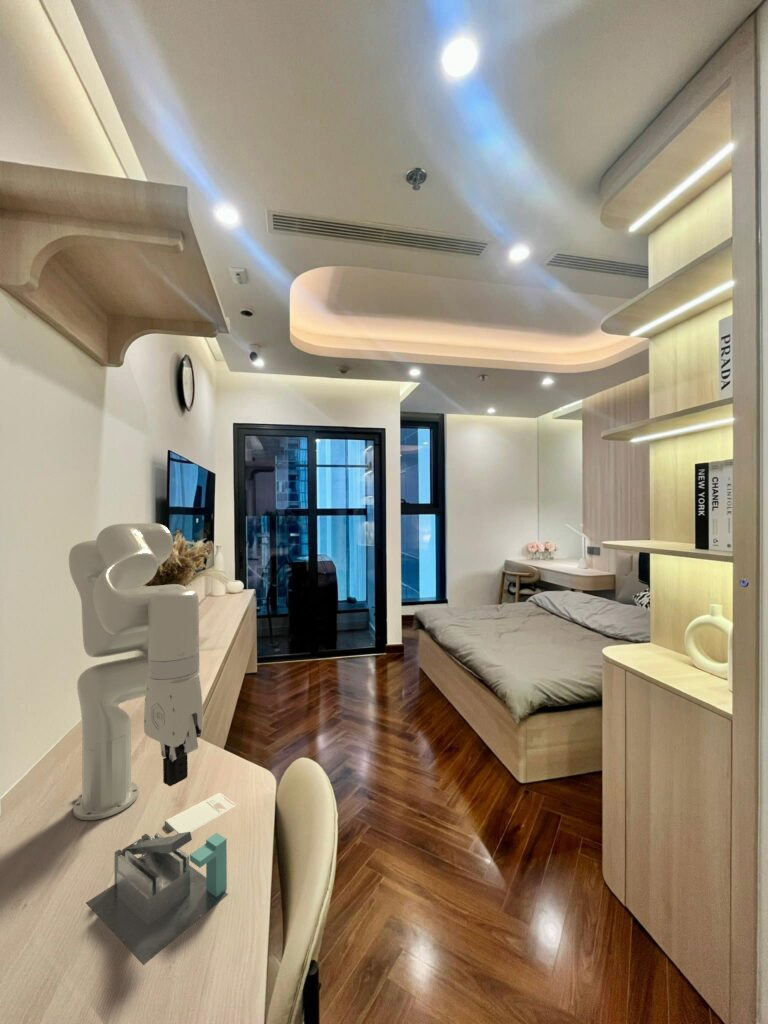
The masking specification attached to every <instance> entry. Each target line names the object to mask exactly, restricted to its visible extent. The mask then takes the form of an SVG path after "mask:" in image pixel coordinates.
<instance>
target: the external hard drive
mask: <svg viewBox="0 0 768 1024" xmlns="http://www.w3.org/2000/svg"><path fill="white" fill-rule="evenodd" d="M217 804H220V805H221V806H222V807H223V808H216V806H217ZM237 806H238V804H237V803H236V802H233V801H232V800H231V799H229V798H228V797H227V796H226V795H224V794H223V793H221V792H218V793H216V794H214V795H212V796H210V797H208V798H206V799H204V800H203V801H201V802H199V803H196V804H195V805H193V806H191V807H188V808H187V809H185V810H183V811H181V812H179V813H177V814H175V815H173V816H171V817H169V818H167V819H165V820H164V826H165V827H166V828H167V829H168V830H169V831H170V832H172V833H173V832H174V831H175V832H176V834H178V833H185V832H190V833H191V834H192V832H194V831H196V830H198V829H199V828H201V827H203V826H204V825H206V824H209V822H211V821H213V820H215V819H217V818H218V817H220V816H221V815H223V814H225V813H226V812H228V811H230V810H231V809H233V808H235V807H237Z"/></svg>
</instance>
